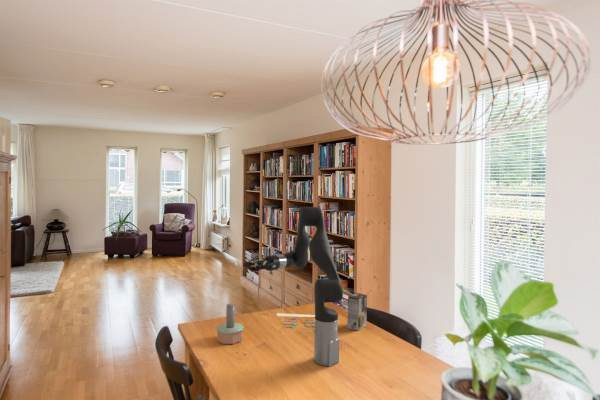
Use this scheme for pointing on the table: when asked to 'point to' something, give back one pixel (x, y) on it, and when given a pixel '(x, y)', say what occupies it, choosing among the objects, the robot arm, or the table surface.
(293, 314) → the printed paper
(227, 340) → the bowl
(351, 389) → the table surface
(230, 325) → the peg on round base
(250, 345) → the table surface
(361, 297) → the coffee box
